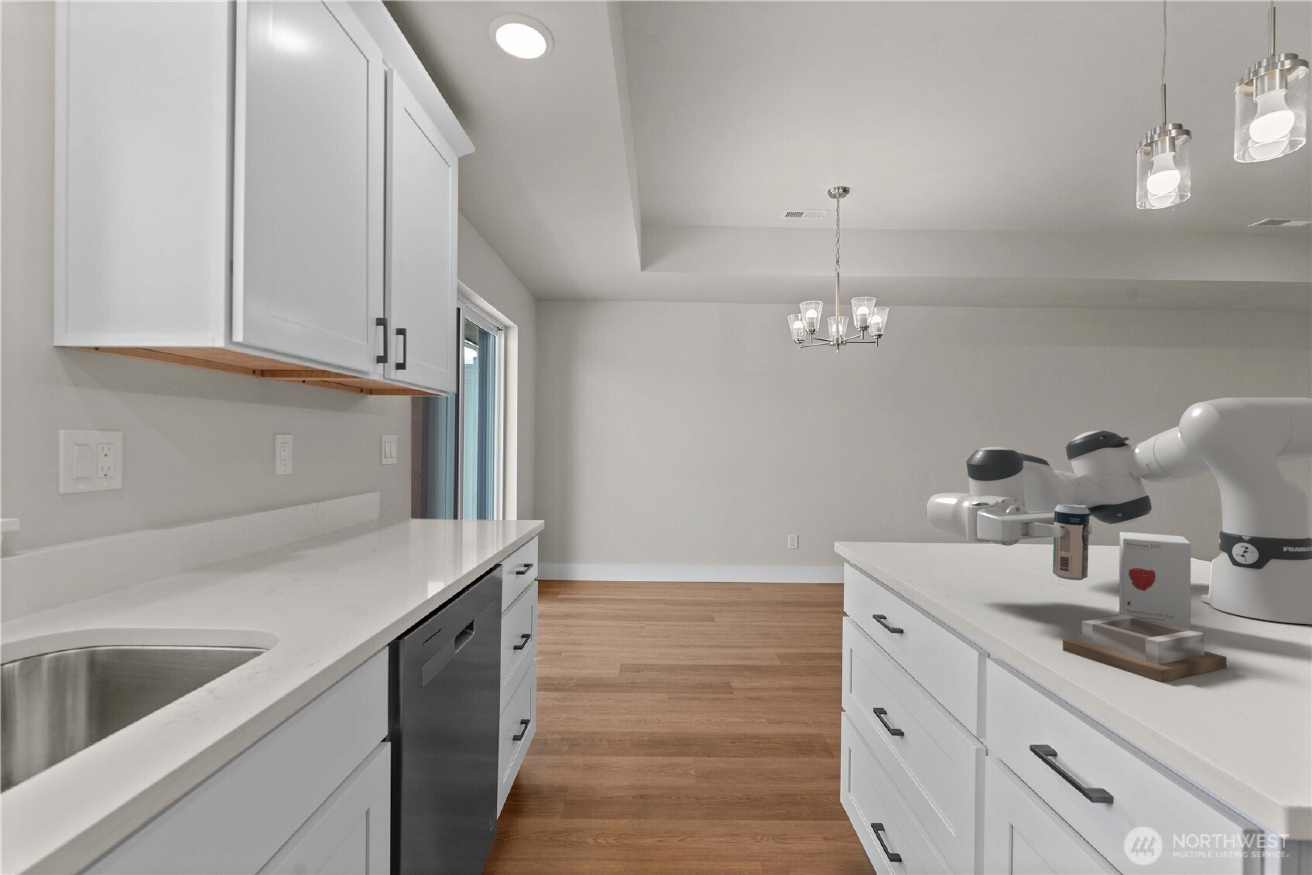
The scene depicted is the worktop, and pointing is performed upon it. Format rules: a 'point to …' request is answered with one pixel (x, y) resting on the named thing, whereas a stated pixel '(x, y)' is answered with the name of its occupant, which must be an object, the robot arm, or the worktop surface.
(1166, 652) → the socket base
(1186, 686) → the worktop surface
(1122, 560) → the supplement box
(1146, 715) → the worktop surface
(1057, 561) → the beer can
